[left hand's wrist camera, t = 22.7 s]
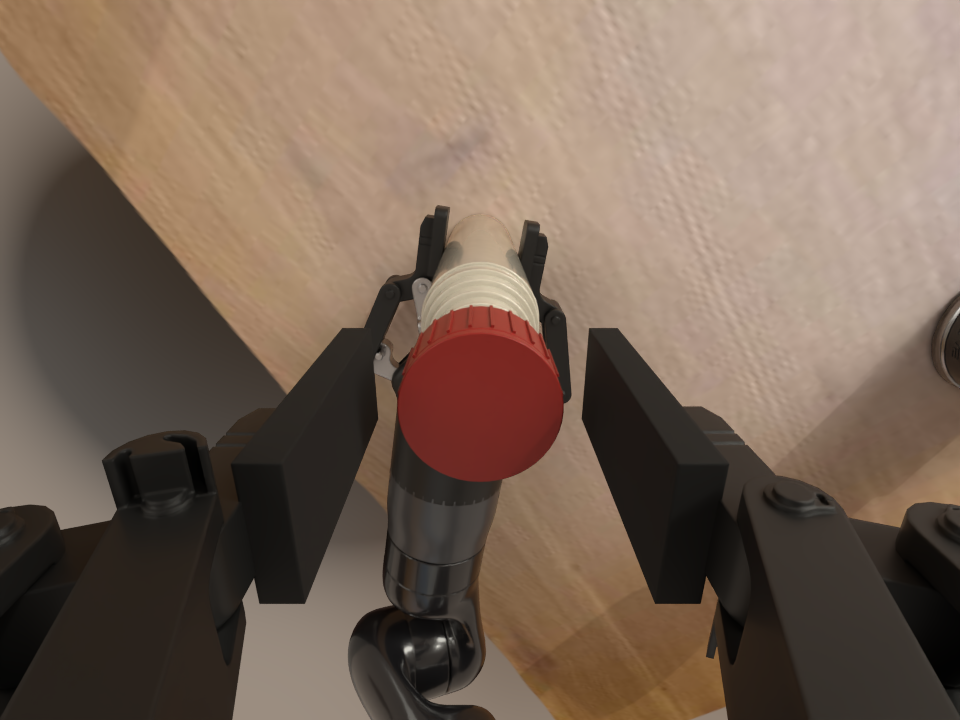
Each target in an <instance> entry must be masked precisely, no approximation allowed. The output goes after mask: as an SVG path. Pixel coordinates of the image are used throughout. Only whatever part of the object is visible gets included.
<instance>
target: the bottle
mask: <svg viewBox="0 0 960 720" xmlns="http://www.w3.org/2000/svg"><path fill="white" fill-rule="evenodd" d="M470 305H473V307H474V306H486V307H489V306H490V305H493V307H494V308H499V309H502V310H505V311H509V310H511V311H512V313H513V314H515V315H517V316H519V317H520V318H522V319H523V320H525V321H526V320H528V321H529V324H530V325H531V326H532V327H533V328H534V329H535V331H536V332H537V333H538V334H539V310H538V305H537V302H536V299H535V296H534V294H533V291H532V289H531V286H530V284H529V281H528V279H527V277H526V274H525V272H524V269H523V267H522V264H521V262H520V259H519V257H518V254H517V252H516V250H515V247H514V245H513V242H512V240H511V237H510V235H509V233H508V231H507V229H506V227H505V226H504V225H503V224H502V223H501V222H500V221H499V220H497V219H496V218H494V217H491V216H489V215H483V214H477V215H471V216H469V217H466V218H464V219H463V220H461V221H460V222H459V223H458V224H457V225H456V226H455V227H454V229H453V231H452V233H451V235H450V237H449V240H448V242H447V245H446V247H445V250H444V252H443V255H442V257H441V260H440V262H439V265H438V267H437V270H436V272H435V275H434V277H433V280H432V282H431V285H430V287H429V290H428V292H427V295H426V297H425V300H424V303H423V306H422V312H421V331H422V332H424V331H425V330H426V329H427V328H428V327H429V326H430V325H431V324H432V323H433V320H434V319H436V320H437V319H439V318H441V317H442V316H444V315H446V314H448V313H450V310H453V311H455V310H458V309H461V308H467V307H469V306H470Z"/></svg>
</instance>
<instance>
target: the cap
mask: <svg viewBox="0 0 960 720" xmlns="http://www.w3.org/2000/svg"><path fill="white" fill-rule="evenodd" d="M402 375H403V378H402V381H401V384H400V386H399V389H398V393H397V394H398V400H397V413H398V421H399V424H400V428H401V431H402V433H403V435H404V438H405V440H406V441H407V443H408V445H409V446H410V448H411V449H412V450H413V451H414V453H415V454H416V455H417V456H418V457H419V458H420V459H421V460H422V461H423V462H425V463H426V464H427V465H429V466H430V467H431V468H433V469H435V470H436V471H438V472H440V473H442V474H445V475H447V476H449V477H452V478H456V479H459V480H465V481H473V482H489V481H496V480H501V479H505V478H508V477H511V476H514V475H516V474H519V473H521V472H522V471H524V470H526V469H528V468H529V467H531V466H532V465H534V464H535V463H536V462H537V461H538V460H540V459H541V458H542V457H543V456H544V455H545V453H546V452H547V451H548V450H549V449H550V447H551V446H552V444H553V442H554V441H555V439H556V437H557V435H558V433H559V430H560V427H561V424H562V419H563V407H564V402H563V391H562V388H561V386H560V383H559V380H558V377H559V373H558V371H557V368H556V365H555V363H554V360H553V357H552V355H551V352H550V349H547V348H546V345H545V343H544V340H543V337H542V335H541V333H539V334H538V333H537V332H536V331H535V329H534V328H533V327H532V326H531V325H530V324H529V321H528V320H526V321H525V320H523V319H522V318H520V317H519V316H517V315H515V314H513V313H512V311H511V310H509V311H505V310H502V309H499V308H494V307H493V305H490V306H489V307H486V306H474V307H473V305H470V306H469V307H467V308H461V309H458V310H455V311H453V310H450V313H448V314H446V315H444V316H442V317H441V318H439V319H437V320H436V319H434V320H433V323H432V324H431V325H430V326H429V327H428V328H427V329H426V330H425V331H424V332H421V333H420V335H419V338H418V340H417V343H416V345H415V347H414V348H411V351H410V354H409V356H408V359H407V362H406V365H405V367H404V370H403V373H402Z"/></svg>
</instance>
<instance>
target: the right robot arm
mask: <svg viewBox="0 0 960 720" xmlns="http://www.w3.org/2000/svg"><path fill="white" fill-rule="evenodd" d="M449 212H450V207H446V206H440V205H438V206H437V207H436V209H435V215H427V216H426V217H425V219H424V221H423V222H422V224H421V227H420V237H419V245H418V254H417V263H416V270H415V271H414V272H413V273H411V274H408V275H403V276H399V275H393V276H391V277H389V278H388V280H387V281H386V283H385V284H384V285H383V286H382V287H381V289H380V291H379V293H378V296H377V298H376V301H375V303H374V305H373V308H372V310H371V313H370V315H369V318H368V320H367V322H366V325H365V327H364V328H371V337H372V349H373V362H374V374H377V375H379V376H381V377H384V378H386V379H389V380H391V381H392V387H393V389H394V391H395V393H396V396H397V400H398V394H397V393H398V389H399V386H400V384H401V381H402V378H403V375H402V373H403V370H404V367H405V365H406V362H407V359H408V356H409V354H410V353H409V354H407V355H406V356H405V357H404V358H403V359H402V360H401V361H400V362H399V363H398V362H396V361H395V360H394V358H393V356H392V352H393V345H392V343H391V342H390V341H389V340H388V339H386V338H385V336H386V333H387V331H388V329H389V326H390V324H391V322H392V319H393V317H394V315H395V312H396V310H397V308H398V305H399V303H400V302H401V301H406V300H412V299H414V303H415V308H416V313H417V318H418V330H419V335H420V333H421V332H422V331H421V312H422V306H423V303H424V300H425V297H426V295H427V292H428V290H429V287H430V285H431V282H432V280H433V277H434V275H435V272H436V270H437V267H438V265H439V262H440V260H441V257H442V255H443V252H444V250H445V243H446V235H447V228H448V220H449ZM539 230H540V224H539V223H538V222H535V221H529V220H525V222H524V226H523V231H522V237H521V242H520V247H519V253H518V257H519V259H520V262H521V264H522V267H523V269H524V272H525V274H526V277H527V279H528V281H529V284H530V286H531V289H532V291H533V294H534V296H535V299H536V302H537V305H538V310H539V321H540V322H541V323H542V334H543V340H544V343H545V345H546V348H547V349H550V352H551V355H552V357H553V360H554V363H555V365H556V368H557V371H558V373H559V377H558V380H559V383H560V386H561V388H562V391H563V402H564V403H566V402H568V401H569V400H570V398H571V383H570V369H569V355H568V341H567V328H566V317H565V315H564V313H563V311H562V309H561V308H560V306H559V304H558V303H557V302H556V301H555V300H550V299H548V298H547V297H545V296H543V295H542V294H541V293H540V284H541V279H542V274H543V270H544V264H545V260H546V255H547V250H548V243H547V237H546V236H545V235H544V234H542V233H539ZM932 359H933V363H934V366H935V368H936V370H937V371H938V373H939V374H940V376H941V377H942V378H943V379H944V380H946V381H947V382H948V383H950V384H952V385H954V386H956V387H958V388H960V295H959V296H958V297H957V298H956V299H955V300H954V301H953V302H952V304H951V305H950V306H949V307H948V308H947V310H946V311H945V313H944V314H943V316H942V317H941V319H940V321H939V323H938V325H937V327H936V330H935V333H934V336H933V341H932ZM501 483H502V479H501V480H496V481H489V482H473V481H465V480H459V479H456V478H452V477H449V476H447V475H445V474H442V473H440V472H438V471H436V470H435V469H433V468H431V467H430V466H429V465H427V464H426V463H425V462H423V461H422V460H421V459H420V458H419V457H418V456H417V455H416V454H415V453H414V451H413V450H412V449H411V448H410V446H409V445H408V443H407V441H406V440H405V438H404V435H403V433H402V431H401V428H400V424H399V421H398V413H397V414H396V423H395V432H394V441H393V450H392V459H391V468H390V477H389V486H388V497H387V510H388V530H387V539H386V548H385V555H384V563H383V585H384V589H385V592H386V595H387V597H388V599H389V600H390V602H391V603H392V604H393V605H392V606H388V607H383V608H379V609H376V610H373V611H371V612H369V613H367V614H366V615H364V616H363V617H362V618H361V619H360V621H359V622H358V623H357V625H356V627H355V628H354V630H353V633H352V635H351V638H350V642H349V648H348V665H349V671H350V675H351V679H352V682H353V685H354V688H355V690H356V692H357V694H358V697H359V699H360V701H361V703H362V705H363V707H364V708H365V710H366V712H367V714H368V715H369V717H370V719H371V720H495V718H494V717H493V715H492V714H491V713H490V712H489V711H488V710H486V709H484V708H482V707H479V706H475V705H441V704H436V703H432V702H430V701H428V700H430V699H433V698H437V697H440V696H443V695H446V694H449V693H452V692H456V691H458V690H461V689H463V688H465V687H466V686H468V685H469V684H470V683H471V682H472V681H473V680H474V679H475V678H476V677H477V675H478V674H479V672H480V671H481V669H482V667H483V664H484V661H485V656H486V647H485V637H484V631H483V626H482V621H481V614H480V602H479V583H478V577H479V572H480V567H481V562H482V557H483V552H484V547H485V542H486V538H487V535H488V532H489V529H490V527H491V524H492V522H493V519H494V516H495V512H496V507H497V502H498V498H499V493H500V488H501Z"/></svg>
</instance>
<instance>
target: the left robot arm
mask: <svg viewBox="0 0 960 720" xmlns="http://www.w3.org/2000/svg"><path fill="white" fill-rule="evenodd" d="M377 421H378V411H377V398H376V386H375V374H374V362H373V349H372V337H371V328H342V329H341V331H340V332H339V333H338V334H337V335H336V337H335V338H334V339H333V340H332V342H331V343H330V344H329V345H328V346H327V348H326V349H325V350H324V351H323V352H322V354H321V355H320V356H319V357H318V358H317V360H316V361H315V362H314V363H313V365H312V366H311V367H310V368H309V369H308V371H307V372H306V373H305V374H304V375H303V377H302V378H301V379H300V380H299V381H298V383H297V384H296V385H295V386H294V387H293V389H292V390H291V391H290V392H289V394H288V395H287V396H286V397H285V398H284V400H283V401H282V402H281V403H280V404H279V406H278V407H277V408H259V409H257V410H255V411H253V412H251V413H250V414H248V415H246V416H244V417H243V418H241V419H239V420H238V421H237V422H236V423H235V424H234V425H233V426H232V427H231V428H230V429H229V431H228V432H227V433H226V436H223V437H222V438H221V439H220V440H219V441H218V442H217V443H216V447H213V448H212V449H211V450H210V451H209V449H208V445H207V440H206V438H205V437H204V436H202V435H201V434H199V433H197V432H191V431H185V430H183V431H166V432H161V433H156V434H151V435H147V436H144V437H141V438H139V439H136V440H133V441H130V442H128V443H126V444H124V445H122V446H120V447H118V448H117V449H115V450H113V451H112V452H111V453H109V454H108V455H107V456H106V457H105V458H104V459H103V460H102V463H103V466H104V469H105V472H106V475H107V479H108V482H109V485H110V488H111V491H112V495H113V498H114V501H115V504H116V507H117V511H116V513H115V514H114V516H113V518H112V520H110V521H105V522H100V523H95V524H90V525H84V526H79V527H74V528H69V529H64V530H60V527H59V524H58V522H57V519H56V516H55V514H54V512H53V511H52V510H50V509H49V508H47V507H46V506H39V505H23V506H16V507H6V508H2V509H0V720H232V717H233V710H234V704H235V697H236V690H237V683H238V676H239V669H240V662H241V655H242V648H243V641H244V634H245V627H246V618H245V611H244V606H243V602H242V599H243V597H244V595H245V593H246V592H247V590H248V588H249V586H250V584H251V582H252V581H253V579H254V580H255V584H256V589H257V594H258V599H259V603H260V604H305V602H306V599H307V597H308V595H309V592H310V590H311V587H312V584H313V582H314V579H315V577H316V574H317V572H318V569H319V567H320V564H321V562H322V559H323V557H324V554H325V552H326V549H327V547H328V544H329V542H330V539H331V537H332V534H333V531H334V529H335V526H336V524H337V521H338V519H339V516H340V514H341V511H342V509H343V506H344V504H345V501H346V499H347V496H348V494H349V491H350V489H351V486H352V484H353V481H354V479H355V476H356V473H357V471H358V468H359V466H360V463H361V461H362V458H363V456H364V453H365V451H366V448H367V446H368V443H369V441H370V438H371V436H372V433H373V431H374V428H375V426H376V423H377ZM582 421H583V423H584V426H585V428H586V431H587V433H588V436H589V438H590V441H591V443H592V446H593V448H594V451H595V453H596V456H597V458H598V461H599V463H600V466H601V468H602V471H603V474H604V476H605V479H606V481H607V484H608V486H609V489H610V491H611V494H612V496H613V499H614V501H615V504H616V506H617V509H618V511H619V514H620V516H621V519H622V521H623V524H624V526H625V529H626V532H627V534H628V537H629V539H630V542H631V544H632V547H633V549H634V552H635V554H636V557H637V559H638V562H639V564H640V567H641V569H642V572H643V574H644V577H645V579H646V582H647V585H648V587H649V590H650V592H651V595H652V597H653V600H654V602H655V604H701V599H702V594H703V589H704V584H705V579H706V576H707V578H708V580H709V582H710V583H711V585H712V587H713V589H714V591H715V593H716V594H717V596H718V602H717V606H716V611H715V615H714V620H713V624H712V629H711V633H710V637H709V642H708V647H707V654H706V657H708V658H712V659H714V655H715V650H716V647H718V654H719V661H720V668H721V675H722V681H723V688H724V695H725V702H726V709H727V716H728V720H960V506H957V505H953V504H941V503H934V502H927V503H916V504H914V505H913V506H911V507H910V508H908V509H907V511H906V514H905V516H904V519H903V522H902V524H901V527H900V528H899V527H894V526H888V525H883V524H878V523H873V522H868V521H862V520H857V519H852V518H848V517H847V515H846V513H845V512H844V510H843V508H842V507H841V506H840V505H839V504H838V503H837V502H836V500H835V499H834V498H833V497H831V496H830V495H828V494H826V493H825V492H823V491H822V490H820V489H819V488H817V487H814V486H812V485H809V484H807V483H805V482H802V481H800V480H796V479H791V478H787V477H783V476H776V475H775V474H774V473H773V472H772V471H771V470H770V468H769V467H768V466H767V465H766V464H765V463H764V462H763V461H762V460H761V459H760V458H759V457H758V456H757V455H756V454H755V453H754V452H753V450H752V449H751V448H750V447H749V446H748V445H745V444H744V443H745V442H744V441H743V440H742V439H741V438H740V437H739V436H738V435H737V434H734V430H733V429H732V428H731V427H730V426H729V425H728V424H727V423H726V422H725V421H724V420H723V419H722V418H721V417H719V416H717V415H716V414H714V413H712V412H710V411H708V410H707V409H705V408H703V407H682V406H681V404H680V403H679V402H678V401H677V400H676V398H675V397H674V396H673V395H672V394H671V392H670V391H669V390H668V389H667V388H666V386H665V385H664V384H663V383H662V381H661V380H660V379H659V378H658V377H657V375H656V374H655V373H654V372H653V371H652V369H651V368H650V367H649V366H648V365H647V363H646V362H645V361H644V360H643V358H642V357H641V356H640V355H639V354H638V352H637V351H636V350H635V349H634V348H633V346H632V345H631V344H630V343H629V342H628V340H627V339H626V338H625V337H624V335H623V334H622V333H621V332H620V331H619V329H618V328H589V337H588V349H587V361H586V374H585V386H584V398H583V410H582Z"/></svg>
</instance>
